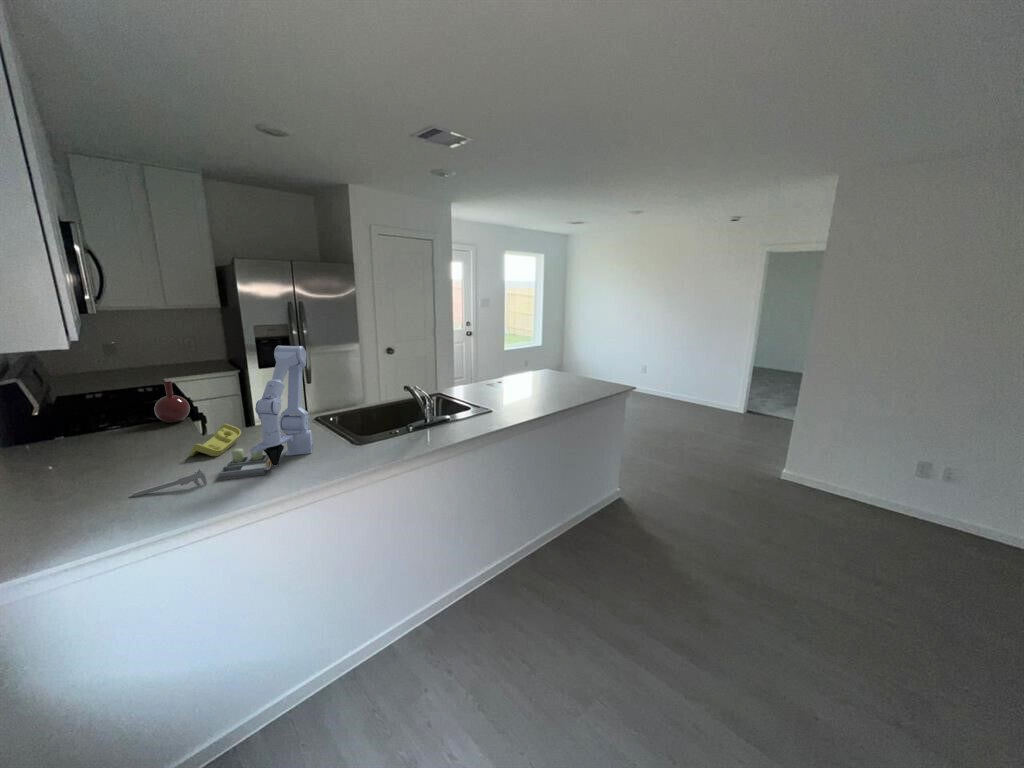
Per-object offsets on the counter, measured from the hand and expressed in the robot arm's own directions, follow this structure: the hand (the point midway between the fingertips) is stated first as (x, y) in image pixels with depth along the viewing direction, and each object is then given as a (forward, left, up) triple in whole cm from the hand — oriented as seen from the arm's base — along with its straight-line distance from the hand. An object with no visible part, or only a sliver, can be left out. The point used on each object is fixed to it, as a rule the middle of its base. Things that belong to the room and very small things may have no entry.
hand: (275, 464), depth 148 cm
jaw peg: (+13, -7, -1) cm, 15 cm away
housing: (+10, -4, -2) cm, 11 cm away
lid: (+6, 0, -1) cm, 6 cm away
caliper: (+30, +7, -3) cm, 31 cm away
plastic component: (+26, -29, -3) cm, 39 cm away
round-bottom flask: (+56, -71, -2) cm, 91 cm away
